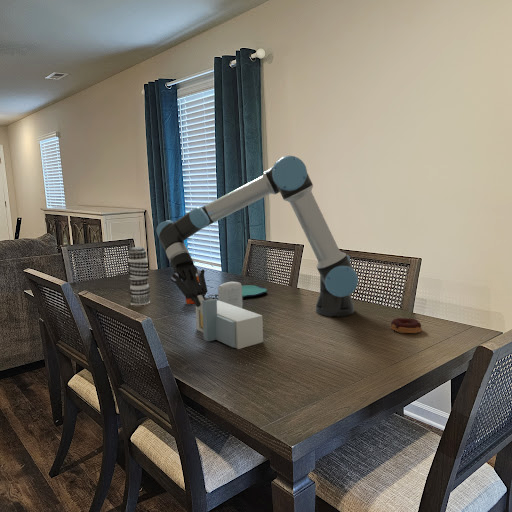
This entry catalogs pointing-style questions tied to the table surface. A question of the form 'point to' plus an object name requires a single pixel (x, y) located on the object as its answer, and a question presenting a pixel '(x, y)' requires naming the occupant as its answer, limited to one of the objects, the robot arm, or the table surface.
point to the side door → (217, 324)
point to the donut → (406, 325)
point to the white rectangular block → (238, 323)
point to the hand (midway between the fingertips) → (206, 313)
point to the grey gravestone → (231, 293)
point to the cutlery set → (248, 291)
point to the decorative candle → (138, 276)
